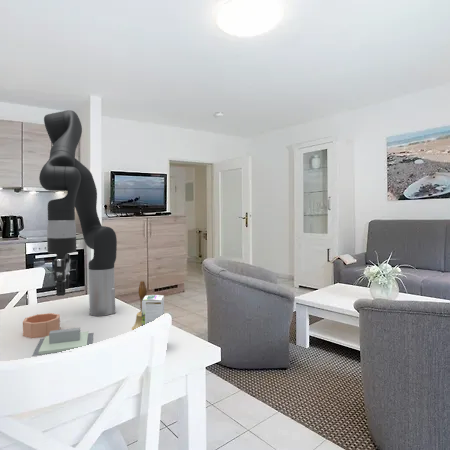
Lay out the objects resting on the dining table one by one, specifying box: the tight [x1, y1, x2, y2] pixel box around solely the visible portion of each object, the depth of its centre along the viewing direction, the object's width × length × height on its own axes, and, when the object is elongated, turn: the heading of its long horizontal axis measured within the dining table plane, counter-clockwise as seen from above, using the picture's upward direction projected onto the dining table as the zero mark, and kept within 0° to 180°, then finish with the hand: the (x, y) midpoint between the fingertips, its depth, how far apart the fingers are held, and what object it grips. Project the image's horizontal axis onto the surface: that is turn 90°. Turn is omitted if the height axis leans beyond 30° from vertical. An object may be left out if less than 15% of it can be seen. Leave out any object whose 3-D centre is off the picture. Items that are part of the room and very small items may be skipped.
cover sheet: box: [38, 327, 89, 355], centre depth 99 cm, size 12×12×4 cm
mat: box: [31, 332, 95, 357], centre depth 100 cm, size 15×13×1 cm
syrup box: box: [142, 294, 165, 326], centre depth 98 cm, size 6×6×14 cm
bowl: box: [22, 312, 61, 339], centre depth 109 cm, size 10×10×5 cm
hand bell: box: [131, 280, 148, 331], centre depth 112 cm, size 8×8×16 cm
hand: (62, 292), depth 99 cm, fingers open, 8 cm apart
